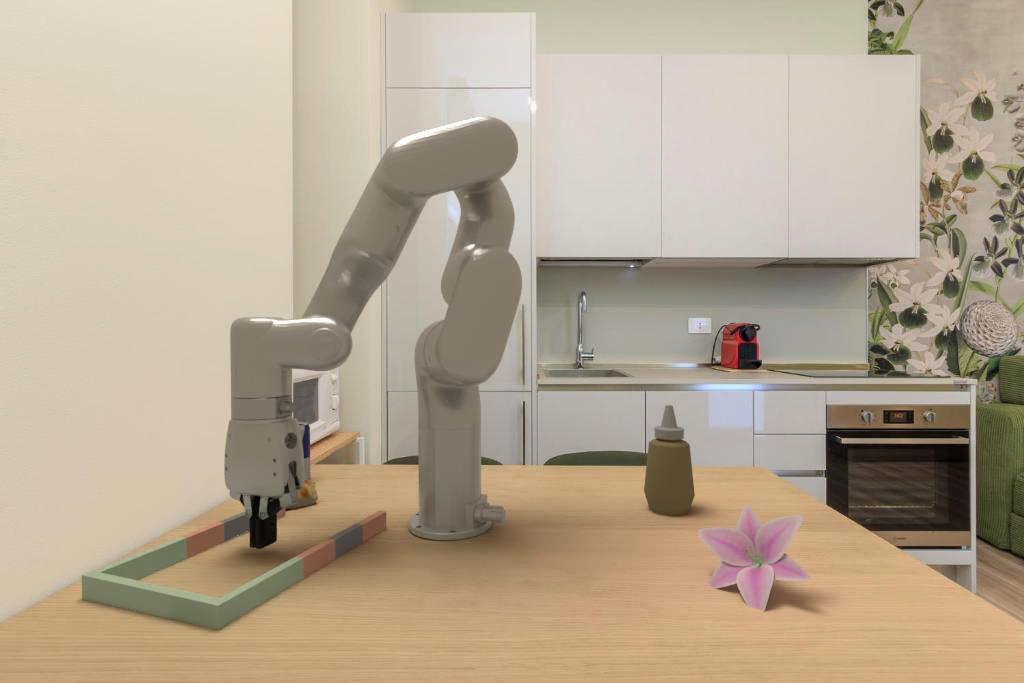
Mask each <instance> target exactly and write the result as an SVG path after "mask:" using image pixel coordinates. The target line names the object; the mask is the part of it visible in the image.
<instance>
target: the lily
mask: <svg viewBox="0 0 1024 683" xmlns="http://www.w3.org/2000/svg"><path fill="white" fill-rule="evenodd" d="M803 520H804V518H803V515H801V514H790V515H785V516H781V517H777V518H774V519H771V520H768V521H766V522H764V523H763V524H762V522H761V519H760V518H759V517H758V515H757V513H756V512H755V511H754V509H753V507H751V505H749V504H748V503H746V504H745V505H744V507H743V508H742V510H741V513H740V515H739V518H738V522H737V525H736V528H733V527H729V526H712V527H704V528H701V529H699V530H698V531H697V535H698V536H699V539H701V541H702V542H703V544H705V546H706V547H707V548H708V549H709V550H710V551H711V552H712V553H713V554H714V555H715V557H717V558H719V559H720V561H721V562H720V563H719V565H718V566H717V567H716V568H715V571H714V572H713V573H712V575H711V578H710V580H709V582H708V583H707V584H708V585H707V586H708V587H710V588H713V589H720V588H725V587H728V586H733V585H735V584H736V585H737V586H736V587H737V588H738V590H739V593H740V594H741V597H742V599H743V600H744V602H745V604H746V606H748V607H751V608H754V609H757V610H759V611H761V612H765V610H766V607H767V603H768V600H769V597H770V595H771V594H770V593H771V590H772V587H773V585H774V580H777V581H785V582H808V581H810V580H811V577H810V575H809V574H808V573H807V571H806V570H805V569H804V568H803V567H802V566H801V565H800V564H799V563H798V562H797V561H795V560H794V559H793V557H791V556H789V555H788V554H786V552H787V551H788V548H789V546H790V544H791V542H792V541H793V539H794V538H795V535H797V532H798V530H799V528H800V527H801V525H802V522H803Z"/></svg>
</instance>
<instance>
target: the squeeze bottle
mask: <svg viewBox="0 0 1024 683" xmlns="http://www.w3.org/2000/svg"><path fill="white" fill-rule="evenodd" d="M676 419H677V418H676V415H675V410H674V406H673V405H670V404H668V405H667V404H666V405H665V407H664V409H663V415H662V419H661V422H660V423H661V424H660V425H656V426H654V438H653V439H651V440H650V441H649V442H648V446H647V449H648V450H647V459H646V466H645V467H646V468H645V477H644V485H643V486H644V487H643V492H644V496H645V499H646V502H647V505H648V507H649V508H648V509H649V511H651V512H652V513H656V514H658V515H663V516H675V517H676V516H683V515H686V514H689V512H690V510H691V507H692V505H693V501H694V499H695V496H696V495H695V484H694V476H693V475H694V474H693V464H692V463H693V462H692V456H691V454H692V453H691V446H690V444H689V442H687V441H686V440H684V439H685V436H684V435H685V429H684V427H681V426H678V423H677V420H676Z"/></svg>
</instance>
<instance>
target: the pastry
mask: <svg viewBox="0 0 1024 683" xmlns="http://www.w3.org/2000/svg"><path fill="white" fill-rule="evenodd" d="M310 479H311V478H310ZM310 479H308V480H305V484H304V487H303V488H302V489H299V490H296V492H297V496H298V502H297V503H295V504H292V505H290V506H285V508H286V510H290V509H291V510H292V509H299V508H302V507H305V506H306V507H310V506H312V504H313V505H315V504H316V502H317V501H318V499H319V496H318V492H317V489H316V486H315V483H314V481H313V480H312V479H311V480H310ZM272 500H273V499H272ZM272 500H270V501H272ZM309 505H310V506H309Z"/></svg>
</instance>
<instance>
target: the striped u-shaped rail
mask: <svg viewBox="0 0 1024 683" xmlns="http://www.w3.org/2000/svg"><path fill="white" fill-rule="evenodd" d="M270 502H271V501H270ZM286 510H287V509H286V508H285V507H283V508H282V509H281V512H280V513H278V514H277V518H279V519H281V518H283V517H285V516H284V515H286ZM282 516H283V517H282ZM280 517H281V518H280ZM249 518H250V517H247V516H246V515H245V511H242V512H240V513H237V514H235V515H232V516H230V517H227V518H224V519H222V520H219V521H216V522H214V523H211V524H209V525H207V526H204V527H202V528H199V529H196V530H194V531H191V532H188V533H186V534H183V535H181V536H178V537H176V538H173V539H171V540H167V541H165V542H163V543H160V544H158V545H155V546H153V547H150V548H148V549H145V550H143V551H140V552H138V553H134V554H132V555H130V556H128V557H124V558H122V559H120V560H119V559H118V560H117V561H115V562H112V563H109V564H107V565H103V566H102V567H99V568H97V569H94V570H91V571H89V572H86V573H84V574H81V600H85V601H90V602H93V603H98V604H103V605H107V606H112V607H115V608H116V607H117V608H121V609H125V610H130V611H133V612H139V613H142V614H147V615H151V616H156V617H161V618H163V619H169V620H174V621H178V622H182V623H187V624H190V625H196V626H199V627H204V628H208V629H212V630H217V631H219V630H221V629H222V628H224V627H225V626H227V625H230V624H231V623H233V622H234V621H236V620H238V619H239V618H240V617H242V616H244V615H246V614H248V613H249V612H251V611H252V610H254V609H255V608H258V607H259V606H261V605H262V604H264V603H265V602H268V601H269V600H270V599H272V598H273V597H275V596H277V595H279V594H281V593H282V592H283V591H285V590H286V589H288V588H290V587H292V586H294V585H295V584H296V583H299V582H300V581H302V580H303V579H305V578H306V577H308V576H310V575H312V574H313V573H315V572H317V571H318V570H321V568H323V567H325V566H326V565H328V564H330V563H331V562H333V561H335V560H336V559H338V558H340V557H341V556H343V555H344V554H346V553H348V552H350V551H351V550H353V549H354V547H355V548H356V547H358V546H359V545H361V544H363V543H365V542H367V540H370V539H371V538H372V537H374V536H376V535H378V534H379V533H381V532H383V531H384V530H386V529H387V511H385V510H384V511H383V510H378V511H376V512H374V513H373V514H371V515H369V516H367V517H365V518H362V519H361V520H360V521H358V522H355V523H354V524H352V525H350V526H349V527H346V528H345V529H343V530H341V531H339V532H338V533H336V534H334V535H332V536H331V537H328V538H326V539H325V540H323V541H321V542H319V543H318V544H316V545H314V546H312V547H311V548H308V549H307V550H305V551H303V552H301V553H300V554H298V555H296V556H294V557H292V558H290V559H287V561H284V562H283V563H280V564H279V565H278V566H276V567H274V568H272V569H270V570H268V571H266V572H264V573H263V574H260V575H258V577H256V578H255V577H254V578H253V579H252V580H250V581H248V582H246V583H244V584H243V585H240V586H238V587H236V588H235V589H233V590H232V591H229V592H228V593H226V594H224V595H222V596H221V597H216V596H212V595H206V594H202V593H197V592H192V591H188V590H183V589H179V588H173V587H169V586H164V585H160V584H155V583H150V582H147V581H142V580H140V579H143V578H145V577H147V576H149V575H152V574H154V573H156V572H159V571H161V570H164V569H165V568H169V567H170V566H173V565H175V564H177V563H179V562H181V561H184V560H186V559H188V558H191V557H193V556H196V555H198V554H200V553H202V551H203V552H205V551H207V550H209V549H212V548H214V547H216V546H218V545H217V544H219V545H220V543H221V544H223V543H225V542H224V541H226V542H228V541H230V540H232V539H231V538H233V537H235V536H237V535H239V536H241V535H240V534H242V533H244V532H246V531H249ZM246 533H247V532H246ZM244 534H245V533H244ZM242 535H243V534H242ZM237 537H238V536H237ZM235 538H236V537H235ZM229 539H230V540H229ZM233 539H234V538H233ZM227 540H228V541H227ZM222 542H223V543H222ZM215 545H216V546H215ZM213 546H214V547H213ZM211 547H212V548H211Z"/></svg>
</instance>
